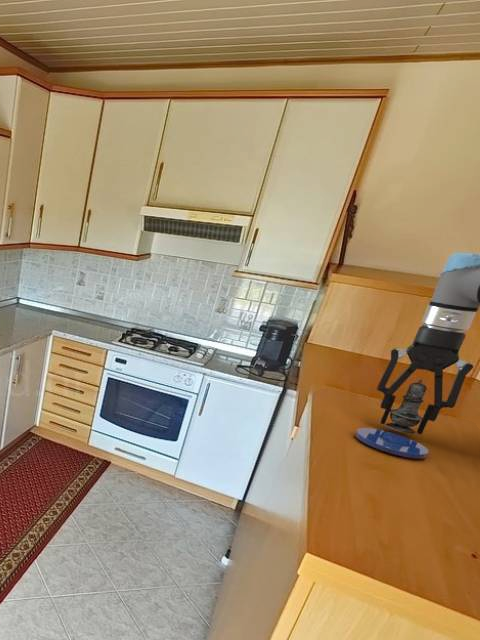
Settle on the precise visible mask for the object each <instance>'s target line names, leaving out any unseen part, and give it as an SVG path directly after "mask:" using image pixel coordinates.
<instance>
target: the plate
mask: <svg viewBox="0 0 480 640" xmlns="http://www.w3.org/2000/svg"><path fill="white" fill-rule="evenodd" d="M355 437H356V439H358V440H359V441H360V442H362V443H364V444H365V445H367V446H370V447H372V448H374V449H377V450H379V451H382V452H386V453H387V454H392V455H395V456H400V457H403V458H409V459H419V460H420V459H425V458H427V456H428V454H429V452H430V451H429V450H428V448H427V447H425V446H424V444H423V445H422V443H419V442H417V441H416V440H413V439H411V438H408V437H406V436H404V435H400V434H398V433H394V432H391V431H387V430H383V429H382V430H381V429H377V428H369V427H361V428H358V429H357V430H356V432H355Z"/></svg>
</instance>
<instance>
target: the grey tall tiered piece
mask: <svg viewBox="0 0 480 640" xmlns="http://www.w3.org/2000/svg"><path fill="white" fill-rule="evenodd" d="M423 382H424V381H423V379H422V378H421V379H419V380H418V382H417V381H416V382H411V383H410V384H409V386H408V389H407V391H406V394H405V395H402V398H403V399H402V402H401V404H400V405H399V407H398V408H396V409H395V408H394V409H392V408H391V410H390V412H389V419H390V420H391V421H392V422H388V423H387V422H386V423H385V427H387V428H389V429H391V430H393V431H396V432H400V433H403V434H409V435H414V434H416V431H415V430H414V429H413V428H414V427H416V426H417V425H420V423H421V421H422V420H423V416H421V415H419V409H420V406H421V404H422V403H424V400H423V398H424V396H425V394H426V392H427V386H426V384H424V383H423ZM412 427H413V428H412Z"/></svg>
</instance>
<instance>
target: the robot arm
mask: <svg viewBox="0 0 480 640" xmlns="http://www.w3.org/2000/svg"><path fill="white" fill-rule="evenodd" d="M479 308H480V254H479V253H470V252H456V253H453V254H451V255H450V256H449V258H448V259H447V261H446V262H445V265H444V267H443V269H442V271H441V272H440V276H439V279H438V282H437V284H436V287H435V289H434V291H433V294H432V297H431V300H430V302H429V304H428V305H427V307H426V310H425V312H424V315H423V317H422V320H421V323H422V324H423V325H421V326H419V327H418V329H417V332H416V335H415V336H414V338H413V341H412V344H411V345H409V346H408V347H407V348H397V347H393V348H392V349H391V350H390V360H389V362H388V364H387V365H386V368H385V370H384V372H383V374H382V376H381V378H380V381H379V382H378V385H377V386H376V390H377V391H378V392H380V393H383V394H384V396H383V398H382V401H381V404H380V409H383V410H384V412H383V414H382V416H381V420H380V424H381V425H386V423H387V419H388V417H389V416H390V413H391V412H390V410H391V409H392V407H393V405H394V404H395V400H396V395H394V394H395V393H396V392H397V391H398V389H399V388H401V386H402V385H404V383H405V382H406V381H407V380H408V379H409V377H411V375H412V374H413V373H414V372H415V371H416V370H422V371H423V370H426V371H428V372H431V373H433V374H434V377H433V378H434V379H433V380H434V382H433V383H434V385H433V392H434V393H433V394H434V395H433V404H432V403H428V405H427V408H426V409H425V412H424V414H423V416H422V418H423V420H420V423H419V424H418V425H419V426H418V428H417V430H416V434H417V435H422V434H423V433H424V431H425V428H426V426H427V424H428V421H430V422H435V421H436V420H437V418H438V415H439V413H440V411H441V410H442V409H443V408H444V409H445V408H449V409H453V408H454V407H455V406H456V403H457V402H458V401H457V400H458V398H459V395H460V393H461V390H462V387H463V385H464V382H465V379H466V377H467V375H468V374H469V373H470V372H471V371H472V370H473V368H474V364H473V363H471V362H469V361H465V360H463V359H462V358H460V356H459V353H460V350H461V348H462V346H463V343H464V342H465V339H466V337H467V334H466V333H465V332H466V331H469V330H470V327H471V326H472V323H473V321H474V319H475V316H476V314H477V312H478V310H479ZM404 355H407V357H408V358H409V361H410V364H409V365H408V366H407V367H406V368H405V370H404V371H402V373H401V374H399V376H398V377H397V378H396V380H395V381H394V382H393V383H392V384H391V385H390V386H389V387H387V384H388V382H389V380H390V378H391V376H392V374H393V372H394V370H395V368H396V366H397V363H398V360H400V359H402V358H403V357H404ZM455 364H456V368H455V369H456V370H457V372H456V375H455V377H454V380H453V383H452V386H451V388H450V391H449V394H448V397H447V399H446V400H443V380H444V378H443V376H444V370H445V369H447V368H449V367H451V366H453V365H455Z"/></svg>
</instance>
